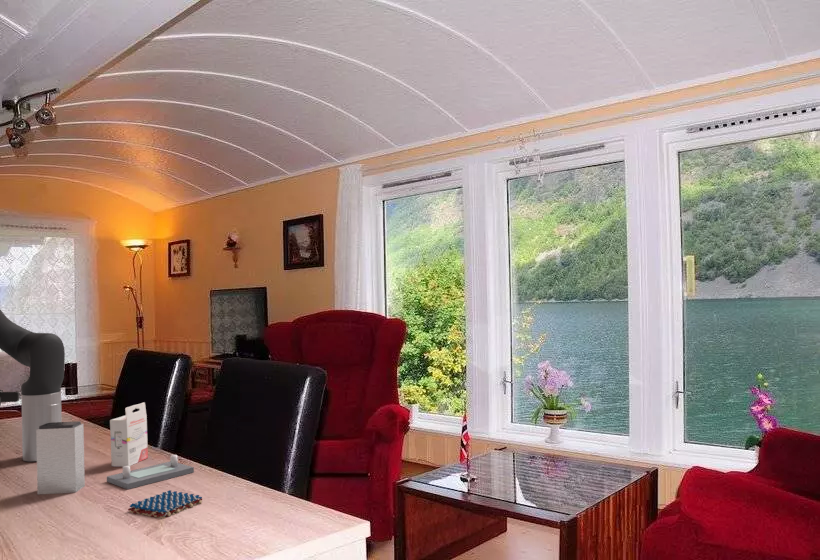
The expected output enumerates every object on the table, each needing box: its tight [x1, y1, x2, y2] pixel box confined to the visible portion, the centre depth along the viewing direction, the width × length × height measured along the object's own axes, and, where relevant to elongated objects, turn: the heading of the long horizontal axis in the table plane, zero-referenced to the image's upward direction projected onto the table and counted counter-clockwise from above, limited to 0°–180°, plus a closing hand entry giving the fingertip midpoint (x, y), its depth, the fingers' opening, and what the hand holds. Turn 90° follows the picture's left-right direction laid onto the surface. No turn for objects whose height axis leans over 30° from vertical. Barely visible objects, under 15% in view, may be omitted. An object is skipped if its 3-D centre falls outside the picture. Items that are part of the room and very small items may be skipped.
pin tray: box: [106, 454, 195, 490], centre depth 150 cm, size 16×10×4 cm, turn 140°
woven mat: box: [127, 489, 203, 520], centre depth 128 cm, size 10×11×2 cm
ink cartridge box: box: [109, 401, 149, 468], centre depth 164 cm, size 9×5×15 cm, turn 168°
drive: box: [36, 420, 86, 495], centre depth 142 cm, size 4×8×15 cm, turn 95°
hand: (9, 399), depth 141 cm, fingers open, 8 cm apart
